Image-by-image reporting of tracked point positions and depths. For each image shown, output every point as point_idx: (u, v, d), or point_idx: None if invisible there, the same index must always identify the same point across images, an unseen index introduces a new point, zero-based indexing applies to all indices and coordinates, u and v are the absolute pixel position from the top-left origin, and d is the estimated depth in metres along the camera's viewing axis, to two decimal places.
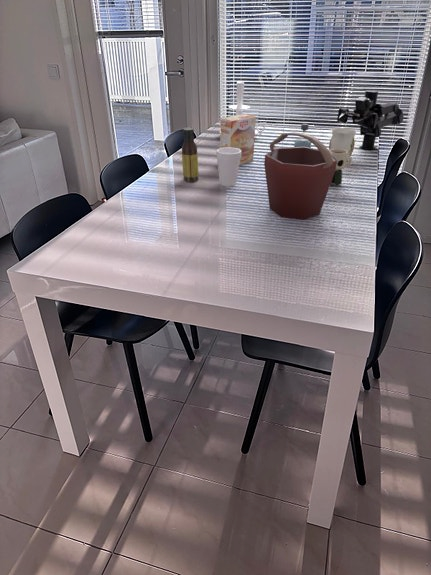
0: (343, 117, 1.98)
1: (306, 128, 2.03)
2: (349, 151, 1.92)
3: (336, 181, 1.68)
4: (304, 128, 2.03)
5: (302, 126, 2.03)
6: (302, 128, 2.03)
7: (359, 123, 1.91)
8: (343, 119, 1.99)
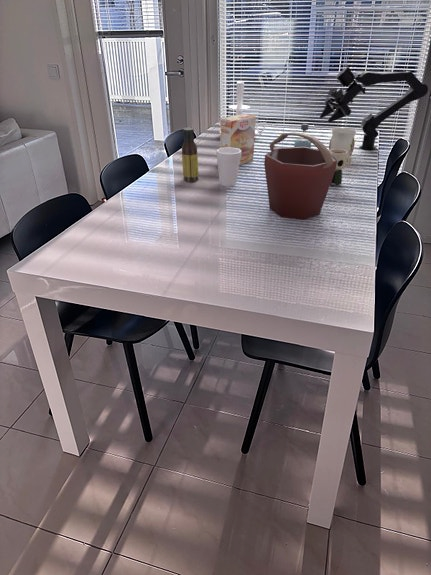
0: (327, 110, 2.11)
1: (306, 128, 2.03)
2: (349, 151, 1.92)
3: (336, 181, 1.68)
4: (304, 128, 2.03)
5: (302, 126, 2.03)
6: (302, 128, 2.03)
7: (331, 120, 2.04)
8: (329, 111, 2.11)
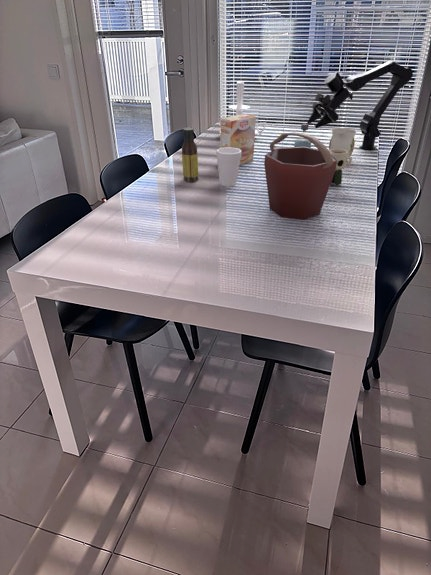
0: (314, 115, 2.07)
1: (306, 128, 2.03)
2: (349, 151, 1.92)
3: (336, 181, 1.68)
4: (304, 128, 2.03)
5: (302, 126, 2.03)
6: (302, 128, 2.03)
7: (318, 126, 2.00)
8: (316, 116, 2.08)
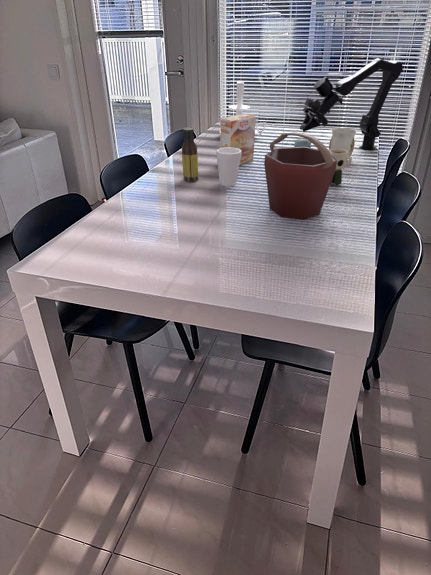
0: (307, 121, 2.05)
1: None
2: (349, 151, 1.92)
3: (336, 181, 1.68)
4: None
5: (302, 126, 2.03)
6: (302, 128, 2.03)
7: (306, 129, 2.02)
8: (308, 122, 2.05)
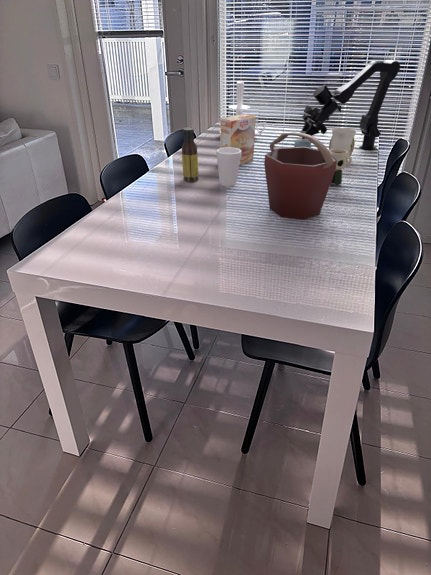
0: (306, 128, 2.07)
1: None
2: (349, 151, 1.92)
3: (336, 181, 1.68)
4: None
5: None
6: None
7: None
8: (308, 129, 2.07)
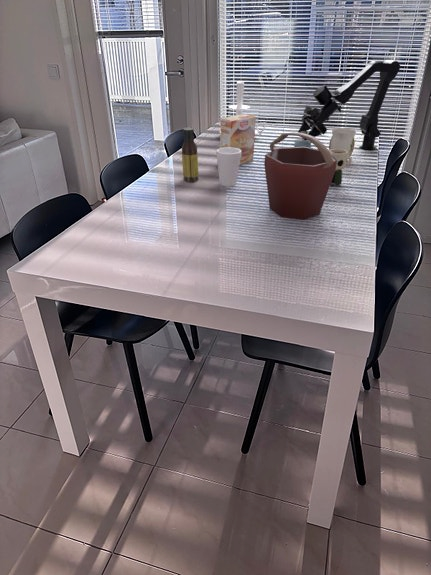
0: (304, 127, 2.09)
1: None
2: (349, 151, 1.92)
3: (336, 181, 1.68)
4: None
5: None
6: None
7: None
8: (305, 128, 2.10)
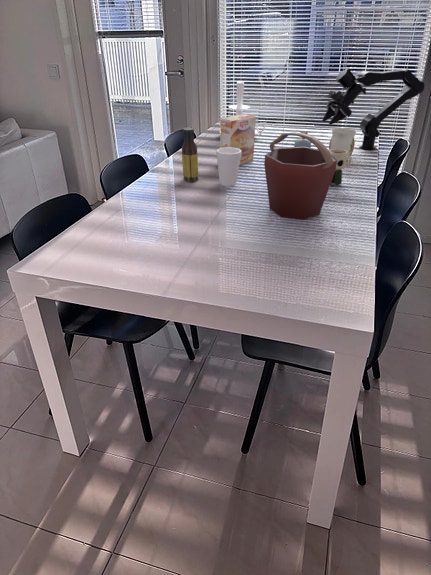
0: (329, 113, 2.10)
1: None
2: (349, 151, 1.92)
3: (336, 181, 1.68)
4: None
5: None
6: None
7: (332, 122, 2.02)
8: (331, 114, 2.10)
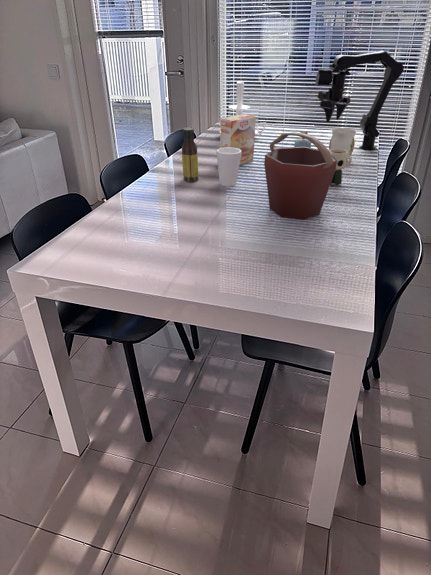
0: (339, 109, 2.10)
1: None
2: (349, 151, 1.92)
3: (336, 181, 1.68)
4: None
5: None
6: None
7: (328, 119, 2.05)
8: (341, 108, 2.09)
